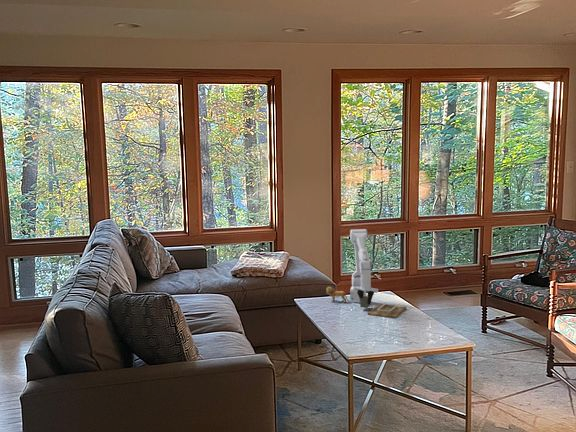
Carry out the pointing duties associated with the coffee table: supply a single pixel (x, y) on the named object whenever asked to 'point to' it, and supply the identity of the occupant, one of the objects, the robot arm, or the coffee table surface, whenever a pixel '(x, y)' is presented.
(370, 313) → the pocket plate
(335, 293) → the lion figurine
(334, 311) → the coffee table surface
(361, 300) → the servo block
